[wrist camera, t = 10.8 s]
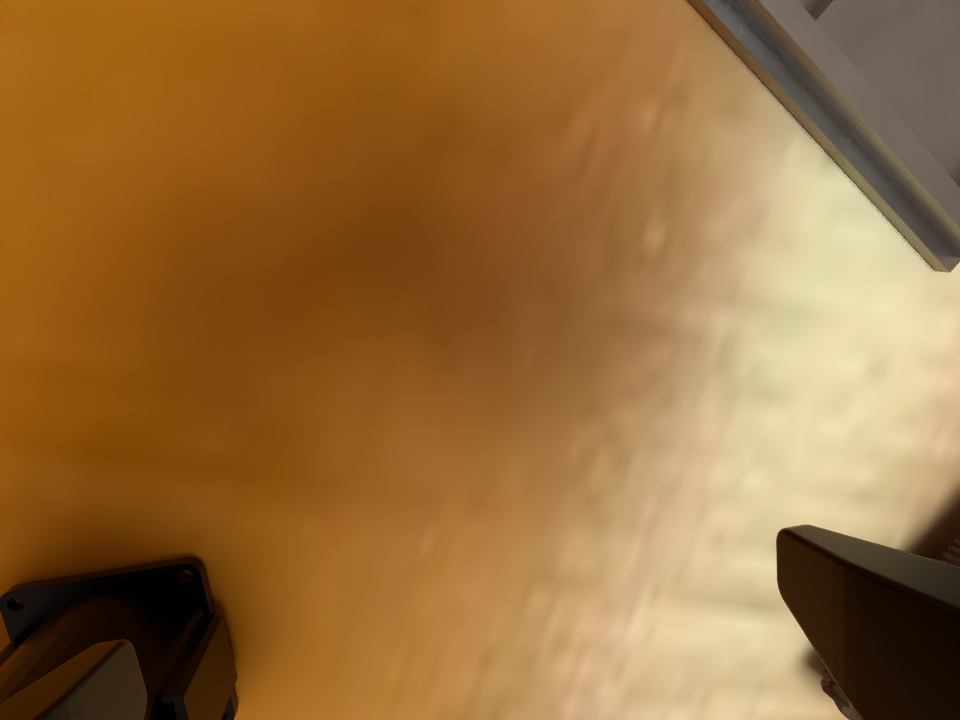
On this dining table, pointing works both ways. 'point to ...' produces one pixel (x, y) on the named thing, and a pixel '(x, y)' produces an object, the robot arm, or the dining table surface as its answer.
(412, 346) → the dining table surface
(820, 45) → the compartment tray
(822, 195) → the dining table surface
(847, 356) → the dining table surface
